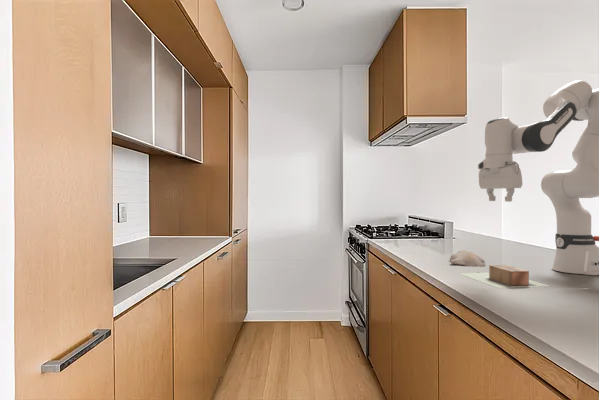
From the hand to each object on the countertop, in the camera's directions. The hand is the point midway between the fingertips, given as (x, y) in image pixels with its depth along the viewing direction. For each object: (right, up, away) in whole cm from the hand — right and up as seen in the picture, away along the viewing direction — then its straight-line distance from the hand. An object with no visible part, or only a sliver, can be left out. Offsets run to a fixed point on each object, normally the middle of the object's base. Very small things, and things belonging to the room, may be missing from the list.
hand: (500, 201), depth 150 cm
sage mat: (-3, -27, -8) cm, 28 cm away
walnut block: (-4, -24, -6) cm, 25 cm away
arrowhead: (+2, -27, +35) cm, 45 cm away
